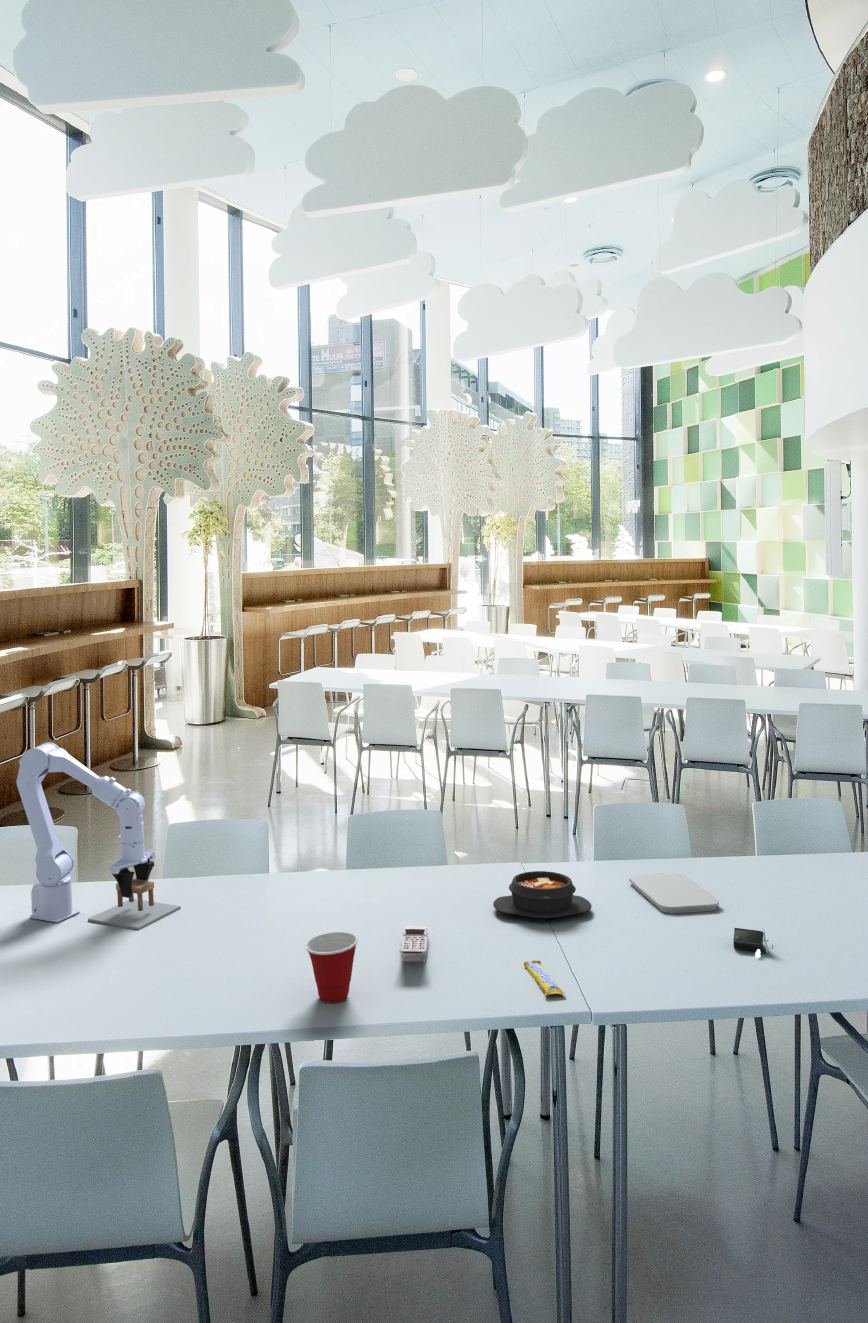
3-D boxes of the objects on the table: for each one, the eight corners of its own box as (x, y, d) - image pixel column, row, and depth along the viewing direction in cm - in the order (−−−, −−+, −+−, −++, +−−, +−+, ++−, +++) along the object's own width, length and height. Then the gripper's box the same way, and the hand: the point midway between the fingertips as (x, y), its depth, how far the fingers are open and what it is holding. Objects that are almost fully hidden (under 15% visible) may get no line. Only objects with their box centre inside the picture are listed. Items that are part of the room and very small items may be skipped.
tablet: (680, 880, 260) (680, 872, 260) (723, 912, 235) (723, 903, 235) (625, 883, 258) (625, 875, 258) (662, 916, 232) (662, 907, 232)
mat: (87, 921, 231) (87, 918, 231) (131, 900, 246) (131, 898, 246) (138, 930, 225) (138, 927, 225) (180, 908, 240) (180, 906, 240)
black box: (710, 956, 207) (711, 932, 207) (716, 933, 221) (716, 910, 221) (781, 966, 202) (782, 941, 201) (783, 941, 216) (783, 918, 215)
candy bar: (522, 968, 202) (522, 959, 202) (540, 966, 203) (540, 958, 203) (546, 1002, 186) (546, 993, 185) (565, 999, 186) (565, 991, 186)
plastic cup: (307, 987, 192) (305, 931, 191) (359, 984, 193) (358, 929, 192) (304, 1010, 182) (302, 951, 181) (359, 1008, 183) (358, 949, 182)
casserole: (496, 926, 226) (496, 892, 225) (490, 900, 244) (490, 869, 244) (597, 924, 226) (598, 891, 226) (584, 898, 245) (584, 867, 244)
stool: (140, 911, 231) (139, 888, 231) (116, 906, 235) (115, 883, 234) (154, 904, 236) (153, 882, 235) (131, 900, 239) (130, 877, 239)
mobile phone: (398, 951, 197) (403, 909, 222) (398, 977, 197) (403, 933, 222) (426, 951, 197) (428, 909, 221) (426, 978, 197) (428, 933, 222)
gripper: (125, 850, 226) (127, 904, 227) (163, 835, 239) (165, 886, 240) (102, 847, 228) (104, 901, 230) (142, 832, 242) (143, 883, 243)
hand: (134, 893), depth 235 cm, fingers closed on stool, 5 cm apart
